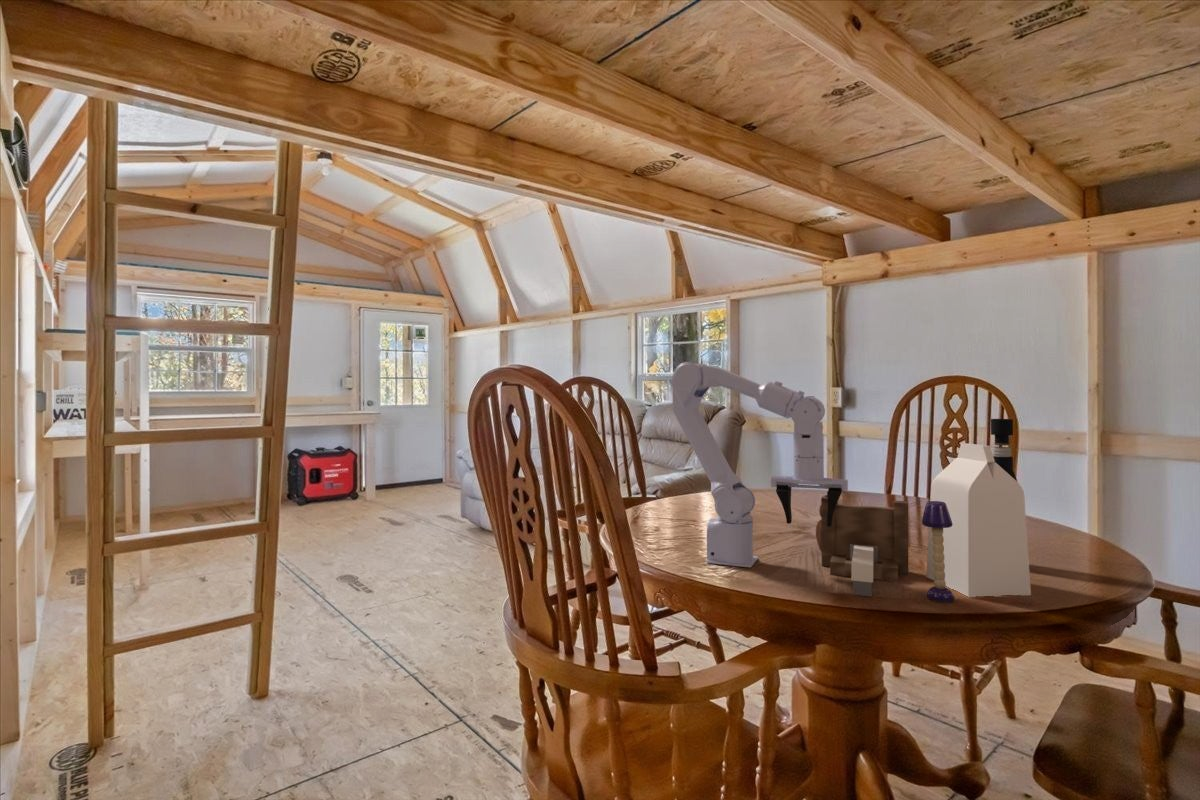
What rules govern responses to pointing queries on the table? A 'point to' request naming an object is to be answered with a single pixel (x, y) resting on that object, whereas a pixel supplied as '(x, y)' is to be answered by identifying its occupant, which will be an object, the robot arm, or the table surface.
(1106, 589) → the table surface
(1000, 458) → the wine bottle
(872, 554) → the beige block
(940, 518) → the toy lamp
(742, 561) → the robot arm
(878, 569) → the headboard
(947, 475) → the milk
